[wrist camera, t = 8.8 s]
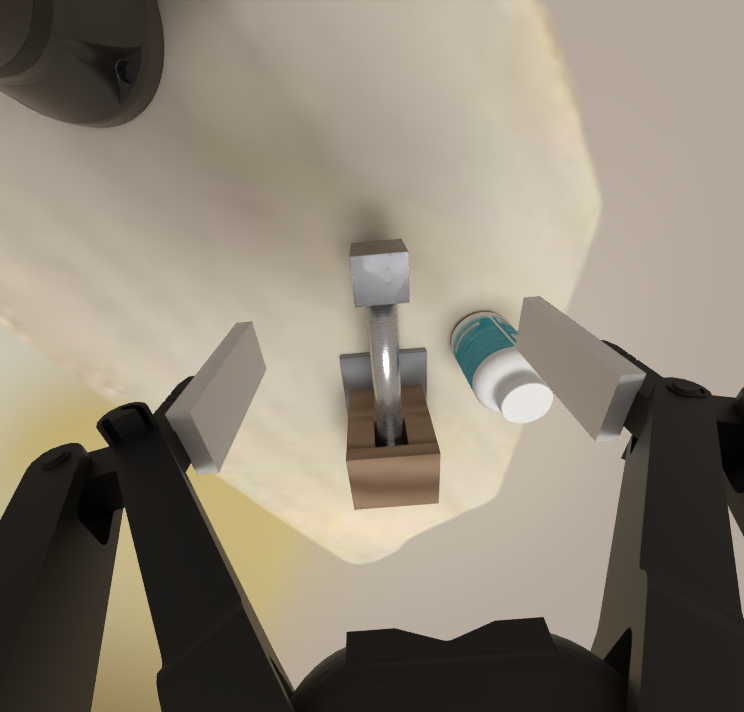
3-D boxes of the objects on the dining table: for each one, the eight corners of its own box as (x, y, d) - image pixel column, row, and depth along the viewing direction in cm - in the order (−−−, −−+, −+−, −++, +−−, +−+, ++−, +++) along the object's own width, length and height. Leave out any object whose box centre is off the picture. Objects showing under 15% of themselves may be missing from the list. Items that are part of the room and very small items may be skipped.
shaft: (351, 243, 28) (349, 256, 24) (401, 238, 28) (408, 251, 24) (372, 435, 40) (373, 468, 35) (407, 432, 40) (413, 465, 35)
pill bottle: (447, 363, 42) (479, 436, 31) (452, 311, 39) (491, 372, 27) (503, 360, 42) (557, 432, 31) (513, 308, 39) (579, 367, 27)
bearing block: (340, 355, 41) (332, 424, 30) (425, 347, 41) (449, 415, 30) (357, 471, 52) (356, 553, 41) (424, 465, 52) (442, 547, 41)
